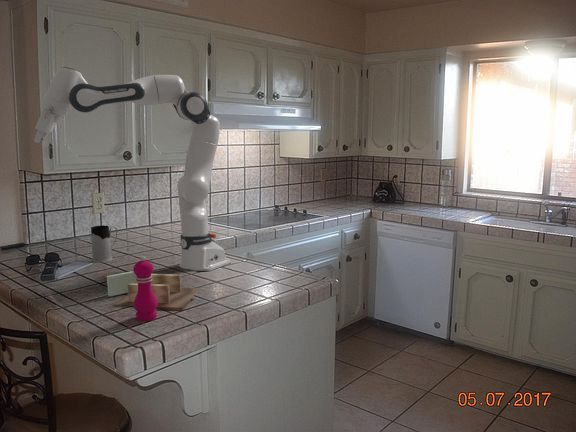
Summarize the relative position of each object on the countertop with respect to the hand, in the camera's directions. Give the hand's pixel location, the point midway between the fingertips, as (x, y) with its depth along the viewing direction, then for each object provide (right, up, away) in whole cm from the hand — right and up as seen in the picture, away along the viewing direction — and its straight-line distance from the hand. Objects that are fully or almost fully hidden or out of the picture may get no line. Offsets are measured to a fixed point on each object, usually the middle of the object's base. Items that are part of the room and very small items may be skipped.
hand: (37, 142), depth 195 cm
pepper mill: (+48, -59, -29) cm, 81 cm away
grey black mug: (+11, -47, +43) cm, 64 cm away
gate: (+35, -54, -8) cm, 65 cm away
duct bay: (+47, -56, -11) cm, 74 cm away
